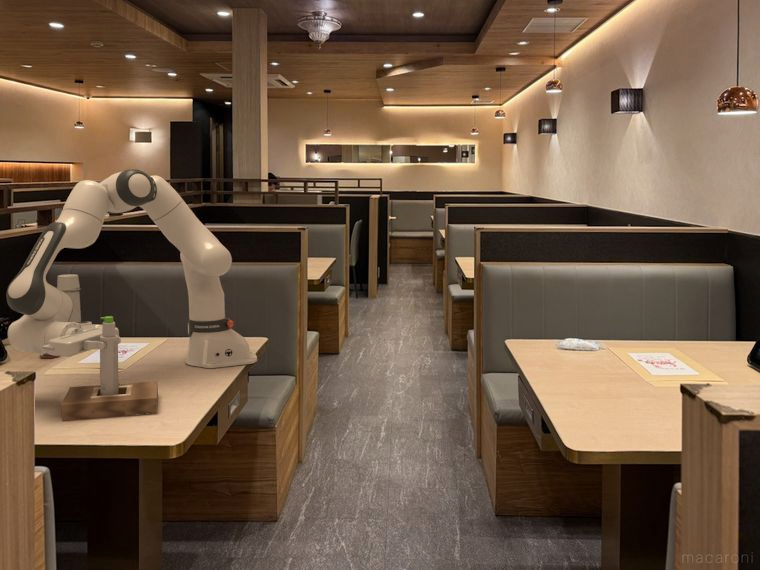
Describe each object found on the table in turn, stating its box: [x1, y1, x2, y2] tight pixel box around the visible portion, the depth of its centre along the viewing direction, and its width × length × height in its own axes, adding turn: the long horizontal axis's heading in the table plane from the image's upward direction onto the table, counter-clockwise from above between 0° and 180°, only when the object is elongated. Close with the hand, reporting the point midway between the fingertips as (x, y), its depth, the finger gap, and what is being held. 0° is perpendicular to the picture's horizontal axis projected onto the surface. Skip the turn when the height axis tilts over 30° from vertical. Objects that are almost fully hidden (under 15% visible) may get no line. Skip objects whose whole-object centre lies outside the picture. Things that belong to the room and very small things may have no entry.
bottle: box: [99, 315, 119, 396], centre depth 187 cm, size 4×4×20 cm
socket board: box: [60, 380, 159, 421], centre depth 189 cm, size 22×16×4 cm
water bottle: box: [56, 273, 82, 323], centre depth 257 cm, size 9×8×25 cm
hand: (112, 343), depth 186 cm, fingers closed on bottle, 4 cm apart
